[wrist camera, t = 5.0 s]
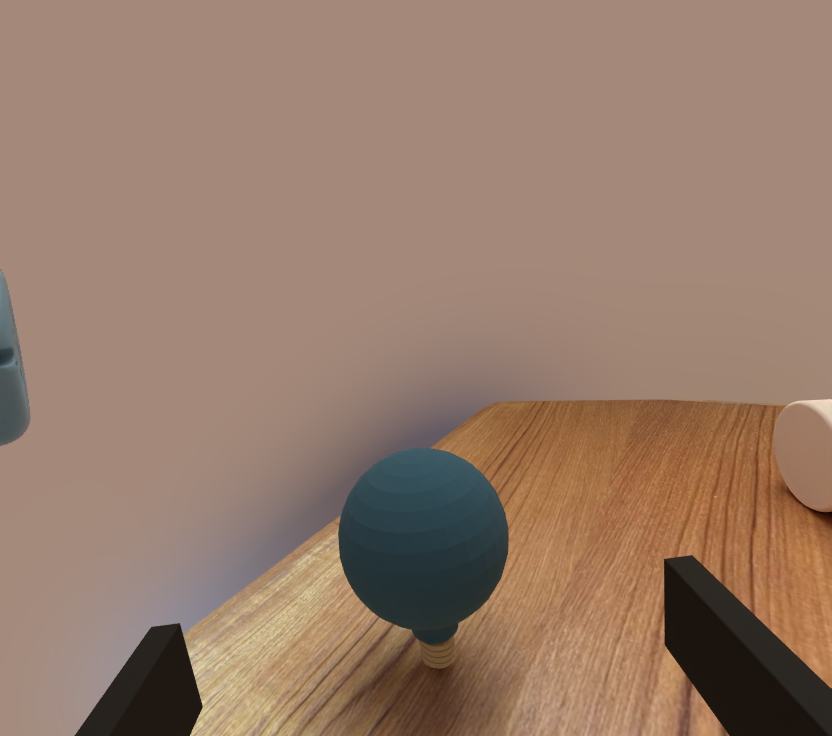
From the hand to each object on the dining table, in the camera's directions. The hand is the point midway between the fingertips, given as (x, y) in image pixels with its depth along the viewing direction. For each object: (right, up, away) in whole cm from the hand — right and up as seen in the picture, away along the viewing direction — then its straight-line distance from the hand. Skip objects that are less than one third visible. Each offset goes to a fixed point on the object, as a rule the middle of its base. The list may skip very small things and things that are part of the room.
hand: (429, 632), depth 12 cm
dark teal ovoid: (+1, -9, +12) cm, 15 cm away
